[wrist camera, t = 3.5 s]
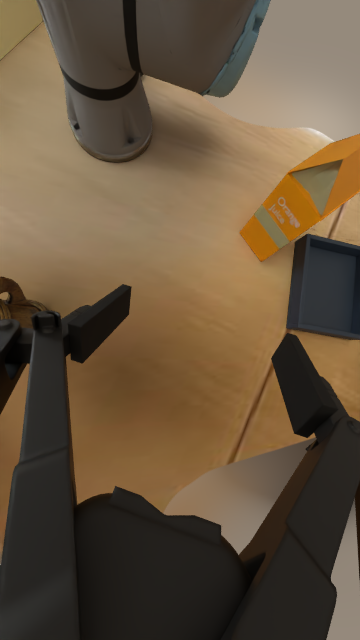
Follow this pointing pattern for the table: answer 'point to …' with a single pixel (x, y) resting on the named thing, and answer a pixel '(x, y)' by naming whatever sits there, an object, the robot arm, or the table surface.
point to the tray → (325, 288)
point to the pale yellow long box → (17, 22)
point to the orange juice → (305, 197)
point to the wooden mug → (17, 304)
